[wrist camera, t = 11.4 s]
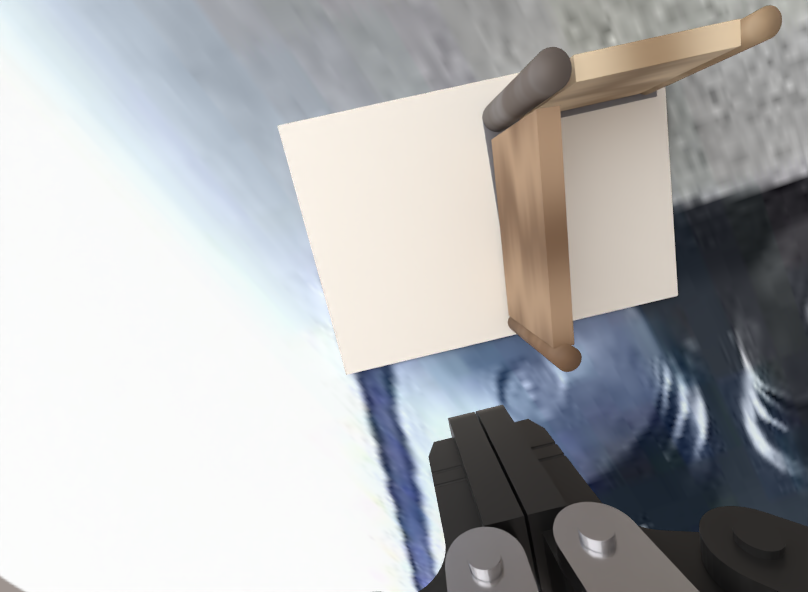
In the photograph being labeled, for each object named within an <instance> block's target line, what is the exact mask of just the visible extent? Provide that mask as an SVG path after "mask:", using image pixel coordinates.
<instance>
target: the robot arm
mask: <svg viewBox="0 0 808 592" xmlns="http://www.w3.org/2000/svg"><path fill="white" fill-rule="evenodd" d="M448 421H449V426H450V430H451V435H452V438H449V439H445V440H441V441H437V442H434V443H433V446H432V449H431V452H430V454H429V461H430V466H431V472H432V477H433V482H434V486H435V492H436V497H437V502H438V507H439V512H440V517H441V522H442V527H443V533H444V538H445V544H446V553H445V558H444V562H443V564H442V567H441V569H440V570H439V572H438V574H437V575H436V576H435V578H434V579H433V580H432V581H431V582H430V583H429V584H428V585H427V586H426V587H425V588H423V589H422V590H421V591H419V592H808V527H807V526H804V525H801V524H798V523H795V522H792V521H789V520H786V519H783V518H780V517H777V516H774V515H771V514H768V513H765V512H762V511H759V510H755V509H751V508H746V507H738V506H725V507H718V508H715V509H712V510H710V511H708V512H706V513H705V514H704V515H703V517H702V518H701V520H700V525H699V531H700V532H684V531H664V530H653V529H648V528H643V527H640V526H637V525H636V524H635V522H634V521H632V520H631V519H630V518H629V517H628V516H627V515H625V514H624V513H623V512H621V511H619V510H617V509H615V508H613V507H611V506H608V505H605V504H602V503H601V501H600V500H599V499H598V497H597V496H596V495H595V493H594V492H593V491H592V490H591V488H590V487H589V486H588V484H587V483H586V482H585V480H584V479H583V478H582V477H581V475H580V474H579V473H578V471H577V470H576V469H575V467H574V466H573V465H572V464H571V462H570V461H569V460H568V458H567V457H566V456H564V453H563V452H562V451H561V449H560V448H559V447H558V445H557V444H555V441H554V440H553V439H552V437H551V436H550V435H549V434H548V432H547V431H546V430H545V428H543V427H541V426H540V425H538V424H536V423H534V422H532V421H531V420H529V419H526V420H522V421H518V422H514V421H513V420H512V418H511V417H510V415H509V413H508V412H507V410H506V409H505V407H504V406H503V405H500V406H496V407H492V408H488V409H483V410H479V411H476V414H475V412H472V413H468V414H463V415H459V416H455V417H451V418H448Z"/></svg>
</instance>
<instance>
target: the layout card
mask: <svg viewBox="0 0 808 592" xmlns="http://www.w3.org/2000/svg"><path fill="white" fill-rule="evenodd" d="M518 74H519V73H515V74H511V75H506V76H502V77H497V78H493V79H488V80H484V81H479V82H474V83H470V84H465V85H461V86H456V87H452V88H447V89H442V90H438V91H433V92H429V93H424V94H420V95H415V96H411V97H406V98H401V99H397V100H392V101H388V102H383V103H379V104H374V105H370V106H365V107H360V108H356V109H351V110H347V111H342V112H338V113H333V114H328V115H324V116H319V117H315V118H310V119H306V120H301V121H297V122H292V123H287V124H283V125H278V129H279V133H280V136H281V140H282V143H283V147H284V151H285V154H286V158H287V162H288V165H289V169H290V172H291V176H292V180H293V183H294V187H295V191H296V194H297V198H298V201H299V205H300V209H301V212H302V216H303V220H304V223H305V227H306V230H307V234H308V238H309V241H310V245H311V248H312V252H313V256H314V259H315V263H316V267H317V270H318V274H319V277H320V281H321V285H322V288H323V292H324V296H325V299H326V303H327V306H328V310H329V314H330V317H331V321H332V325H333V328H334V332H335V335H336V339H337V343H338V346H339V350H340V354H341V357H342V361H343V364H344V368H345V372H346V375H347V374H352V373H356V372H360V371H364V370H368V369H373V368H377V367H381V366H385V365H389V364H393V363H398V362H402V361H406V360H410V359H414V358H419V357H423V356H427V355H431V354H435V353H440V352H444V351H448V350H452V349H456V348H461V347H465V346H469V345H473V344H477V343H482V342H486V341H490V340H494V339H498V338H503V337H507V336H511V335H515V334H516V333H515V332H514V331H513V330H511V329H510V328H509V326H508V319H509V317H510V316H509V315H508V305H507V294H506V284H505V274H504V264H503V254H502V243H501V233H500V223H499V213H498V203H497V193H496V182H495V172H494V162H493V152H492V142H491V140H492V139H493V138H495V137H496V136H497V135H499V134H500V133H502V132H503V131H505V130H506V129H508V128H509V127H511V126H512V125H514V124H515V123H517V122H518V121H519V120H520V118H519V119H518V120H517V121H515V122H514V123H512V124H511V125H509V126H508V127H507V128H505V129H504V130H502V131H499V132H493V131H491V130H489V129H488V128H487V127H486V126H485V124H484V122H483V120H482V115H483V111H484V109H485V108H486V106H487V105H488V104H489V103H490V102H491V101H492V100H493V99H494V98H495V97H496V96H497V95H498V94H499V93H500V92H501V91H502V90H503V89H504V88H505V87H506V86H507V85H508V84H509V83H510V82H511V81H512V80H513V79H514V78H515V77H516V76H517V75H518ZM560 113H561V130H562V147H563V164H564V181H565V197H566V214H567V231H568V248H569V265H570V282H571V298H572V315H573V321H574V320H578V319H582V318H586V317H591V316H595V315H599V314H603V313H607V312H612V311H616V310H620V309H624V308H628V307H633V306H637V305H641V304H645V303H649V302H654V301H658V300H662V299H666V298H670V297H674V296H678V289H677V272H676V256H675V239H674V223H673V206H672V190H671V173H670V156H669V140H668V123H667V107H666V90H665V87H663V88H661V89H659V90H657V91H654V92H652V93H650V94H648V95H642V94H637V95H632V96H628V97H623V98H619V99H614V100H610V101H605V102H601V103H596V104H592V105H587V106H583V107H578V108H574V109H569V110H565V111H560Z"/></svg>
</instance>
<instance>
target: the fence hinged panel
mask: <svg viewBox="0 0 808 592" xmlns="http://www.w3.org/2000/svg"><path fill="white" fill-rule="evenodd" d="M491 142H492V152H493V162H494V172H495V182H496V193H497V203H498V213H499V223H500V233H501V243H502V254H503V264H504V274H505V284H506V294H507V305H508V315H509V316H510V317H509V319H508V326H509V328H510V329H511V330H513V331H514V332H515V333H516V334H518V335H519V336H520V337H521V338H522V339H524V340H525V341H526V342H527V343H529V344H530V345H531V346H532V347H533V348H535V349H536V350H537V351H538V352H540V353H541V354H542V355H543V356H544V357H546V358H547V359H548V360H549V361H551V362H552V363H553V364H554V365H555V366H557V367H558V368H559V369H560V370H562V371H565V372H570V371H573V370H575V369H576V368H577V367H578V366H579V365H580V363H581V358H582V357H581V353H580V352H579V350H578V349H576V348H574V347H573V346H571V345H574V332H573V315H572V298H571V282H570V265H569V248H568V231H567V214H566V197H565V181H564V164H563V147H562V130H561V113H560V106H553V107H547V108H540V109H536V110H534V111H533V112H531V113H530V114H528V115H527V116H525V117H524V118H522V119H521V120H519V121H518V122H517V123H515V124H514V125H512V126H511V127H509V128H508V129H506V130H505V131H503V132H502V133H500V134H499V135H497V136H496V137H495V138H493V139H492V140H491Z"/></svg>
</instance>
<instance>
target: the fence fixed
mask: <svg viewBox="0 0 808 592" xmlns="http://www.w3.org/2000/svg"><path fill="white" fill-rule="evenodd" d="M781 23H782V16H781V13H780V11H779V10H778V8H776V7H775V6H770V5H769V6H765V7H763V8H761V9H759V10H757V11H756V12H754V13H752V14H750V15H748V16H746V17H745V18H743V19H741V20H740V19H736V20H732V21H727V22H722V23H718V24H713V25H709V26H704V27H700V28H695V29H690V30H686V31H681V32H677V33H672V34H668V35H663V36H658V37H654V38H649V39H645V40H640V41H636V42H631V43H626V44H622V45H617V46H613V47H608V48H604V49H599V50H594V51H590V52H585V53H581V54H576V55H573V56H572V57H570V58H569V56H568V55H567V54H566V52H564V51H563V50H562V49H560V48H556V47H549V48H546V49H544V50H542V51H541V52H540V53H539V54H538V55H537V56H536V57H535V58H534V59H533V60H532V61H531V62H530V63H529V64H528V65H527V66H526V67H525V68H524V69H523V70H522V71H521V72H520V73H519V74H518V75H517V76H516V77H515V78H514V79H513V80H512V81H511V82H510V83H509V84H508V85H507V86H506V87H505V88H504V89H503V90H502V91H501V92H500V93H499V94H498V95H497V96H496V97H495V98H494V99H493V100H492V101H491V102H490V103H489V104H488V105H487V106H486V108H485V109H484V111H483V115H482V120H483V122H484V124H485V126H486V127H487V128H488V129H489V130H491V131H493V132H499V131H502V130H504V129H505V128H507V127H508V126H509V125H511V124H512V123H514V122H515V121H517V120H518V119H519V118H520V120H521V119H522V118H524V117H525V116H527V115H528V114H530V113H531V112H533V111H534V110H536V109H540V108H547V107H553V106H560V111H565V110H569V109H574V108H578V107H583V106H587V105H592V104H596V103H601V102H605V101H610V100H614V99H619V98H623V97H628V96H632V95H637V94H642V95H648V94H650V93H652V92H654V91H657V90H659V89H661V88H663V87H665V86H668V85H670V84H672V83H674V82H676V81H679V80H681V79H683V78H685V77H687V76H690V75H692V74H694V73H696V72H698V71H700V70H703V69H705V68H707V67H709V66H711V65H714V64H716V63H718V62H720V61H722V60H725V59H727V58H729V57H731V56H733V55H736V54H738V53H740V52H742V51H744V50H747V49H749V48H751V47H753V46H755V45H758V44H760V43H762V42H764V41H766V40H768V39H771V38H772V37H774V36H775V35H776V34H777V33H778V31H779V29H780V27H781Z"/></svg>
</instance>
